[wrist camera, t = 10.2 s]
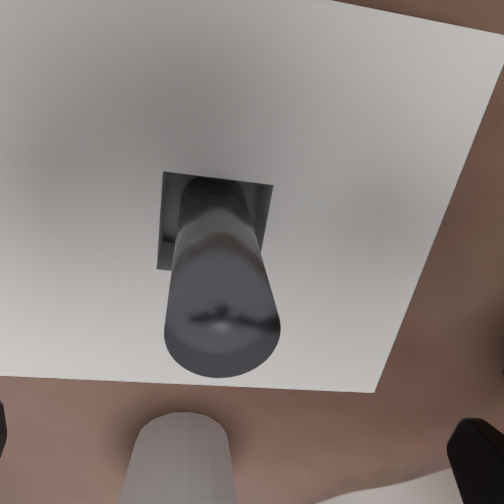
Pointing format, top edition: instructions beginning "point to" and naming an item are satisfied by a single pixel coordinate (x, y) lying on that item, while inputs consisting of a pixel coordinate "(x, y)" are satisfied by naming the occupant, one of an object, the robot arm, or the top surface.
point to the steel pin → (218, 285)
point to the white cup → (180, 463)
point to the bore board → (225, 173)
